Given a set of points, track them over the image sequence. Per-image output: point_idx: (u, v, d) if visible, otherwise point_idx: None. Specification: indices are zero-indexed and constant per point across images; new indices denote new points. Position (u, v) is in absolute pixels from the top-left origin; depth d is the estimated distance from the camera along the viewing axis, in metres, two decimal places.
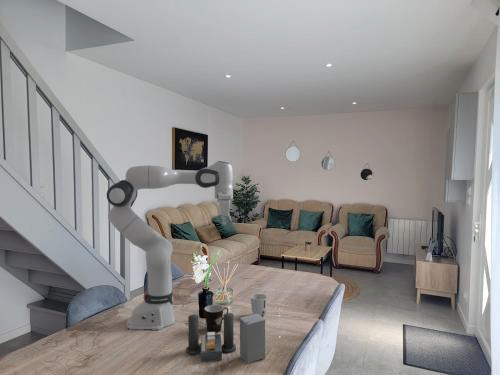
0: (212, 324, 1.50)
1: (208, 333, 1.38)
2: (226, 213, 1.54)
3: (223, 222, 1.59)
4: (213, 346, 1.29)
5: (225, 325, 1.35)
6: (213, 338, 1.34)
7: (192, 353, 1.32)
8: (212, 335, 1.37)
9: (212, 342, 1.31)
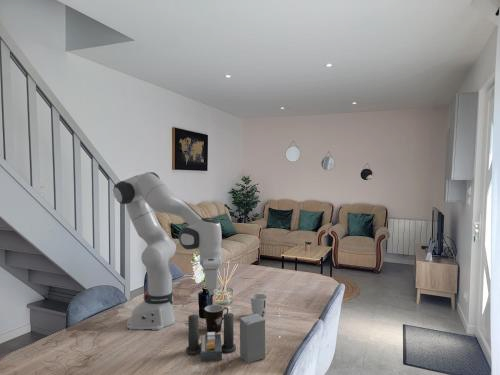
0: (212, 324, 1.50)
1: (208, 333, 1.38)
2: (213, 287, 1.24)
3: (210, 292, 1.32)
4: (213, 346, 1.29)
5: (225, 325, 1.35)
6: (213, 338, 1.34)
7: (192, 353, 1.32)
8: (212, 335, 1.37)
9: (212, 342, 1.31)
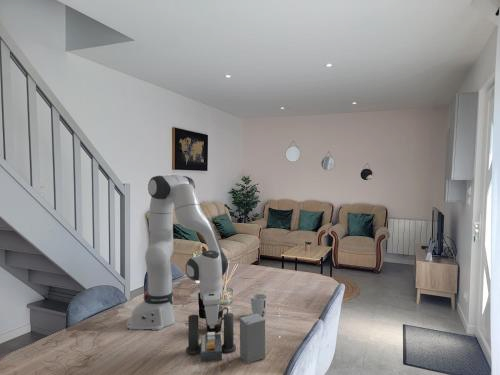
0: None
1: (208, 333, 1.38)
2: (214, 323, 1.24)
3: (210, 325, 1.33)
4: (213, 346, 1.29)
5: (225, 325, 1.35)
6: (213, 338, 1.34)
7: (192, 353, 1.32)
8: (212, 335, 1.37)
9: (212, 342, 1.31)
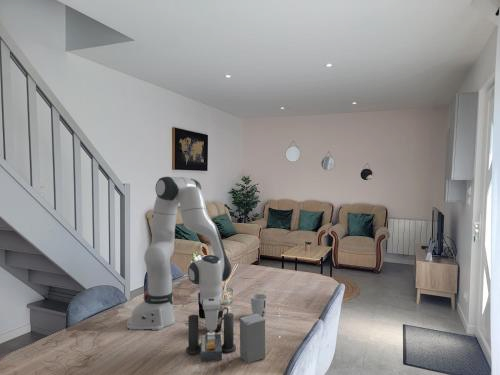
0: None
1: (208, 333, 1.38)
2: (213, 328, 1.24)
3: None
4: (213, 346, 1.29)
5: (225, 325, 1.35)
6: (213, 338, 1.34)
7: (192, 353, 1.32)
8: (212, 335, 1.37)
9: (212, 342, 1.31)
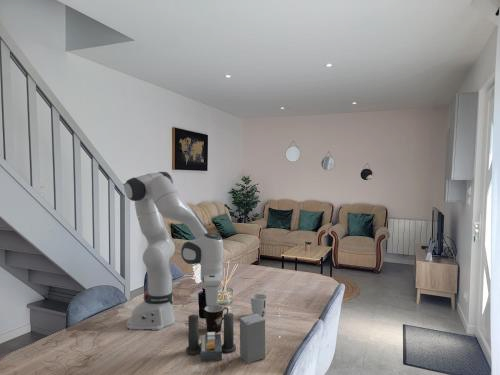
0: (212, 324, 1.50)
1: (208, 333, 1.38)
2: (213, 304, 1.24)
3: (209, 307, 1.33)
4: (213, 346, 1.29)
5: (225, 325, 1.35)
6: (213, 338, 1.34)
7: (192, 353, 1.32)
8: (212, 335, 1.37)
9: (212, 342, 1.31)
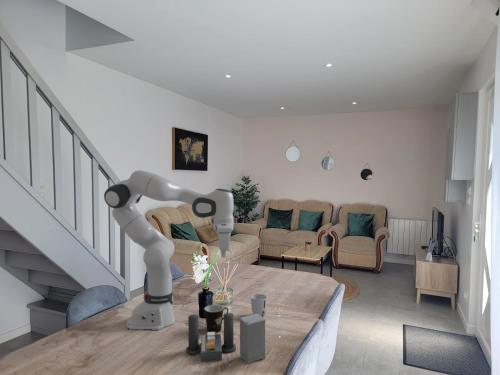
0: (212, 324, 1.50)
1: (208, 333, 1.38)
2: (226, 248, 1.39)
3: (222, 254, 1.48)
4: (213, 346, 1.29)
5: (225, 325, 1.35)
6: (213, 338, 1.34)
7: (192, 353, 1.32)
8: (212, 335, 1.37)
9: (212, 342, 1.31)
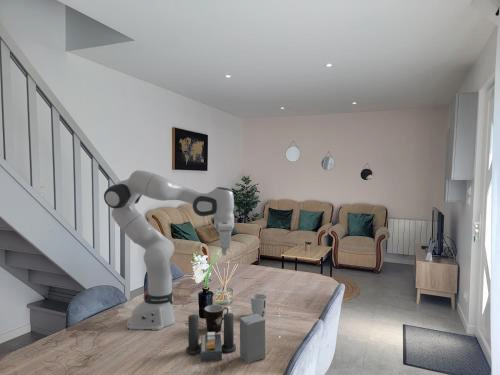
0: (212, 324, 1.50)
1: (208, 333, 1.38)
2: (227, 246, 1.40)
3: (223, 253, 1.49)
4: (213, 346, 1.29)
5: (225, 325, 1.35)
6: (213, 338, 1.34)
7: (192, 353, 1.32)
8: (212, 335, 1.37)
9: (212, 342, 1.31)
